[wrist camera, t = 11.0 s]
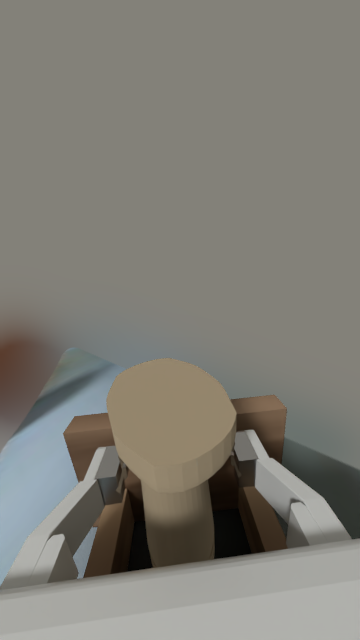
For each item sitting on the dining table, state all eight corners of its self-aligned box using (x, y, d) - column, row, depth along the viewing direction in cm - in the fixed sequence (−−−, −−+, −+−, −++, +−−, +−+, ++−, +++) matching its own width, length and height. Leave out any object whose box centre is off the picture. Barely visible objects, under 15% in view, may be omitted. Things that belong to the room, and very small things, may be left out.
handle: (180, 733, 8) (130, 507, 4) (138, 547, 13) (99, 376, 9) (250, 623, 10) (263, 412, 6) (190, 503, 15) (176, 351, 12)
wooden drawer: (446, 860, 6) (614, 782, 3) (-42, 967, 5) (-300, 971, 3) (267, 483, 16) (274, 394, 14) (99, 504, 16) (74, 416, 13)
